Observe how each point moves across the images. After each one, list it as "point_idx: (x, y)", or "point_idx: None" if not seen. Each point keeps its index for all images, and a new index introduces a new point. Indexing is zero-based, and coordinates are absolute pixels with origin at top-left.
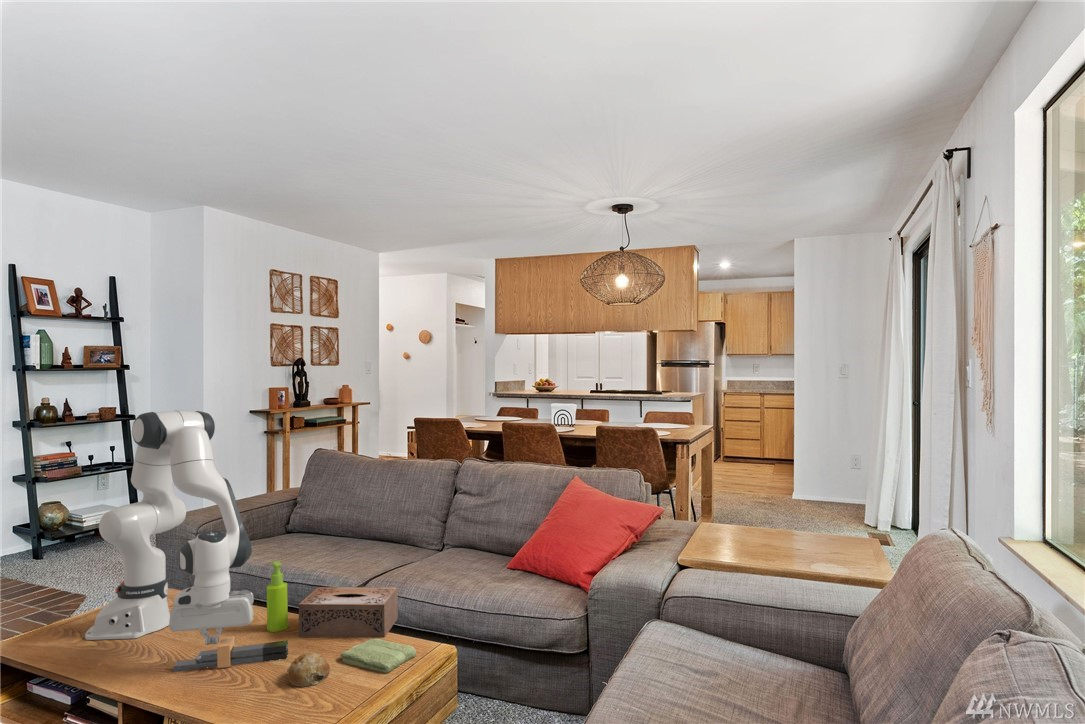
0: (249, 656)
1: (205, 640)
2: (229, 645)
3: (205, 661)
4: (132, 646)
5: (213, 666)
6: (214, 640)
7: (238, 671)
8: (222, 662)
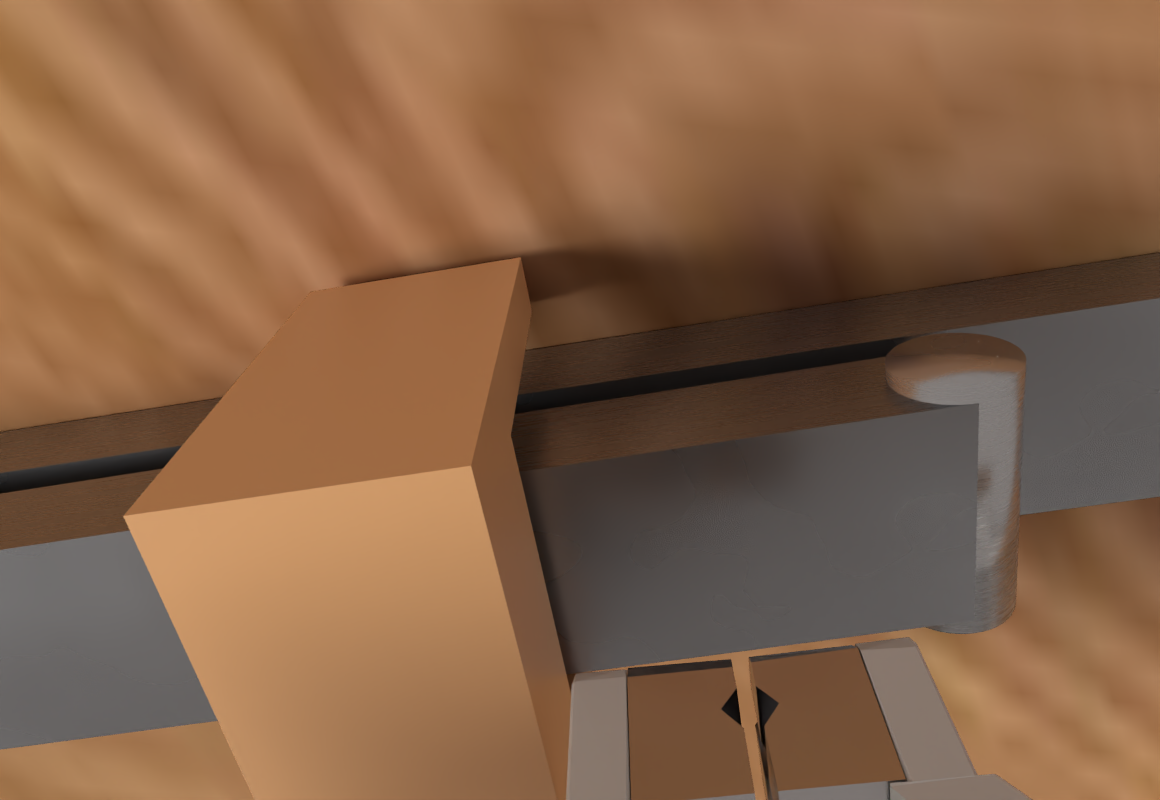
0: None
1: (945, 726)
2: (124, 516)
3: None
4: None
5: (632, 342)
6: (658, 731)
7: (64, 125)
8: (413, 302)
